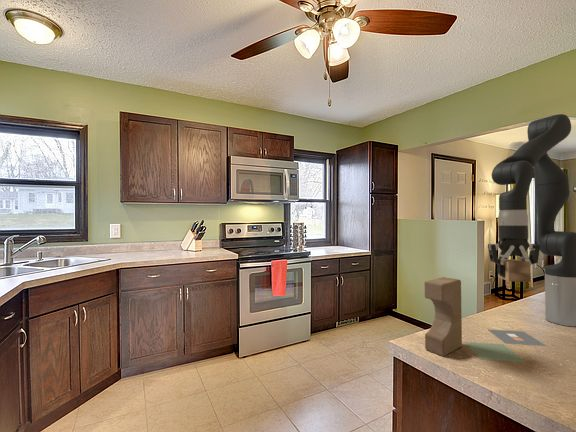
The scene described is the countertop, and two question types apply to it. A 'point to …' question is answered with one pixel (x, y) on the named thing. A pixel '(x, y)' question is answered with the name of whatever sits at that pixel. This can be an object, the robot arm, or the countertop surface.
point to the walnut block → (517, 271)
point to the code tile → (516, 337)
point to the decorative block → (444, 315)
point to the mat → (493, 352)
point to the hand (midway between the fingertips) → (513, 276)
